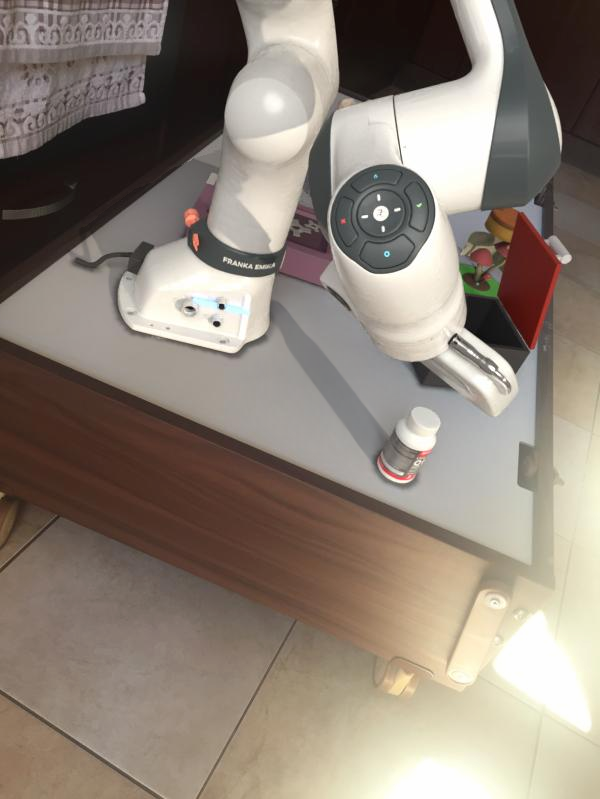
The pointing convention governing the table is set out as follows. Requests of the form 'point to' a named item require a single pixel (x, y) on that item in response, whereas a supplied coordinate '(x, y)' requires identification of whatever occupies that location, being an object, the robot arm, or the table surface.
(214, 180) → the book
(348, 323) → the table surface
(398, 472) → the pill bottle
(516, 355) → the grey open box
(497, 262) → the mushroom figurine
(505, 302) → the lid
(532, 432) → the table surface
